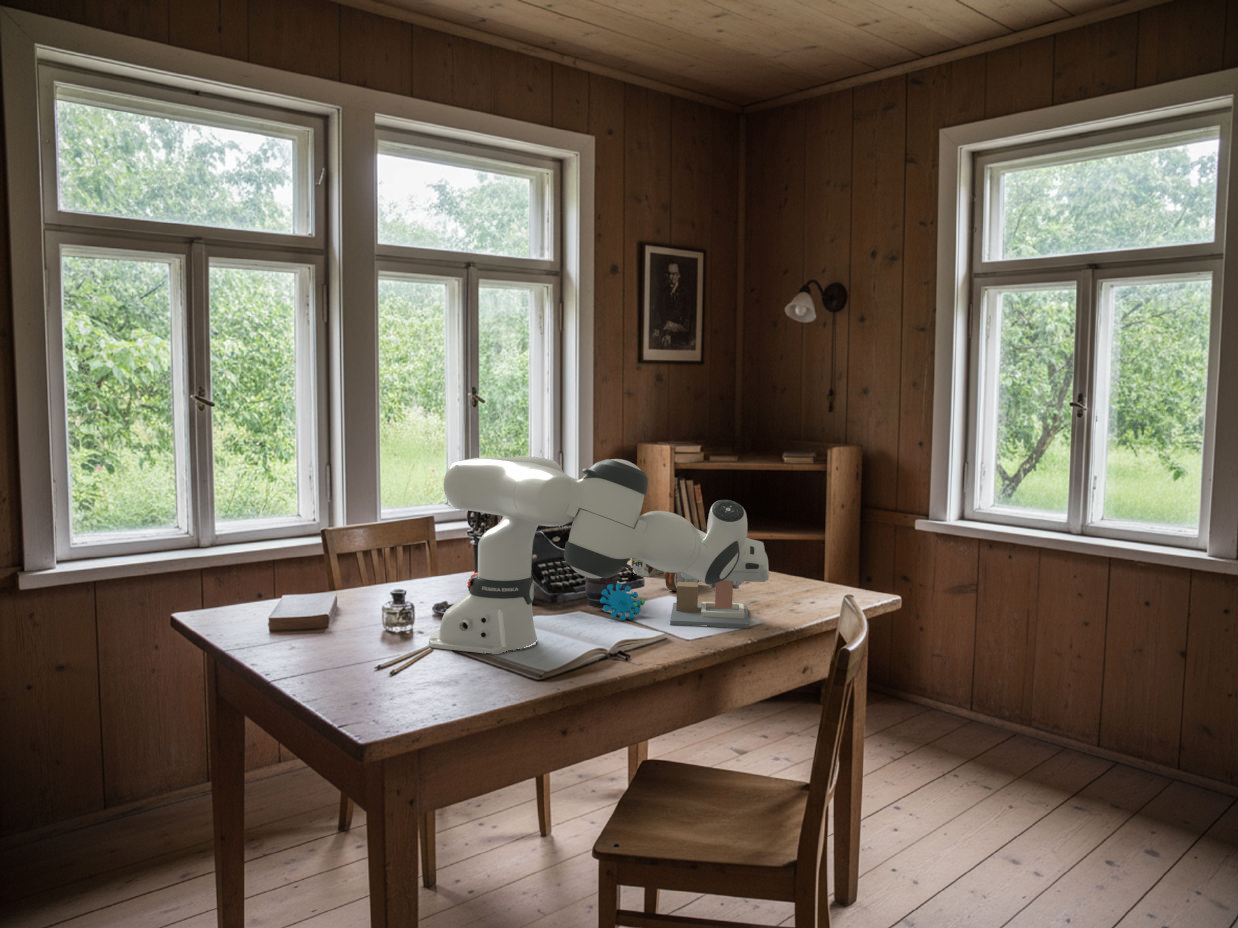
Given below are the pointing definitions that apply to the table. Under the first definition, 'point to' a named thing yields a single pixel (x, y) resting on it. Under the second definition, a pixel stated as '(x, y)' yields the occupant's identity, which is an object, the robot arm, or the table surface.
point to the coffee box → (643, 568)
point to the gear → (621, 602)
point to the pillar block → (723, 594)
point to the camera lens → (599, 589)
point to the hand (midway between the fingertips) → (724, 585)
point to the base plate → (705, 610)
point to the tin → (676, 580)
